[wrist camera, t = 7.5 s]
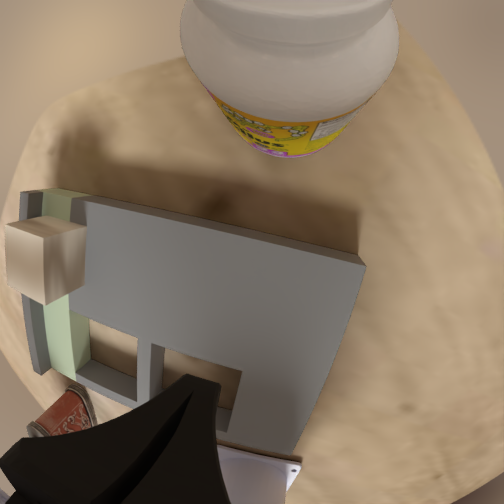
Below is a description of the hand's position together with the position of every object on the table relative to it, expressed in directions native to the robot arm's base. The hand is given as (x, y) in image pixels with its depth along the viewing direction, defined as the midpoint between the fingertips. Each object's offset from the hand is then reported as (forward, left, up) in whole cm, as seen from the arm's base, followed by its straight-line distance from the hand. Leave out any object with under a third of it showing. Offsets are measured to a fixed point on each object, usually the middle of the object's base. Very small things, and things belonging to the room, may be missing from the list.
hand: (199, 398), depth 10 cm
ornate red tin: (-18, +14, -10) cm, 25 cm away
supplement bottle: (+12, 0, -9) cm, 15 cm away
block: (+1, +12, -7) cm, 14 cm away
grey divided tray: (-3, +5, -9) cm, 11 cm away
